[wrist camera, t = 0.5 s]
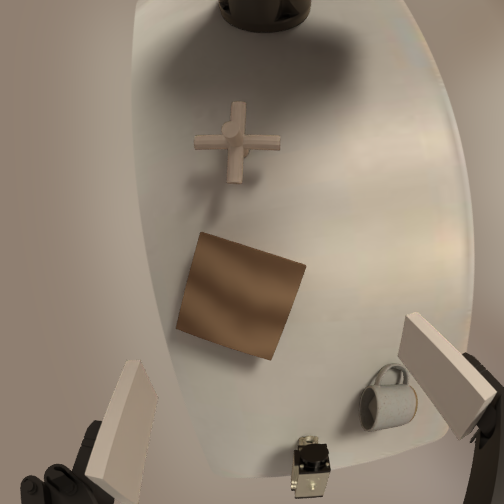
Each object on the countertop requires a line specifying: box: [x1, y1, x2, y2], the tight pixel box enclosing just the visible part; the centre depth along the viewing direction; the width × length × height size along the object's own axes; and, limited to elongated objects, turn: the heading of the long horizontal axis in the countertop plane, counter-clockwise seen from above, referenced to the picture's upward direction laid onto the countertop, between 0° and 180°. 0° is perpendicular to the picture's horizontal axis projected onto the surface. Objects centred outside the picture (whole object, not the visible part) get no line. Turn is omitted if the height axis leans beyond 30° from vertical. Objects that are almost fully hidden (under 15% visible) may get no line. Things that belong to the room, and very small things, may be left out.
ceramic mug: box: [359, 363, 418, 432], centre depth 35 cm, size 11×8×8 cm
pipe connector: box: [194, 101, 280, 184], centre depth 31 cm, size 10×10×10 cm
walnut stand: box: [176, 232, 306, 361], centre depth 36 cm, size 13×13×5 cm
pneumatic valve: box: [291, 436, 331, 499], centre depth 35 cm, size 6×12×12 cm, turn 2°
